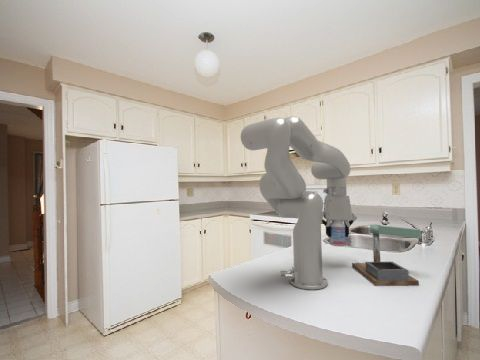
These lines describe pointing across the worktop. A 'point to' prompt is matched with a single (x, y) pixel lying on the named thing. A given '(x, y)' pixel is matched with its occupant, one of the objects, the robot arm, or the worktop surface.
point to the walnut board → (362, 270)
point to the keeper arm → (395, 231)
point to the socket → (386, 271)
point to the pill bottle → (337, 233)
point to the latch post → (376, 247)
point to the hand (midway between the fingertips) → (337, 236)
